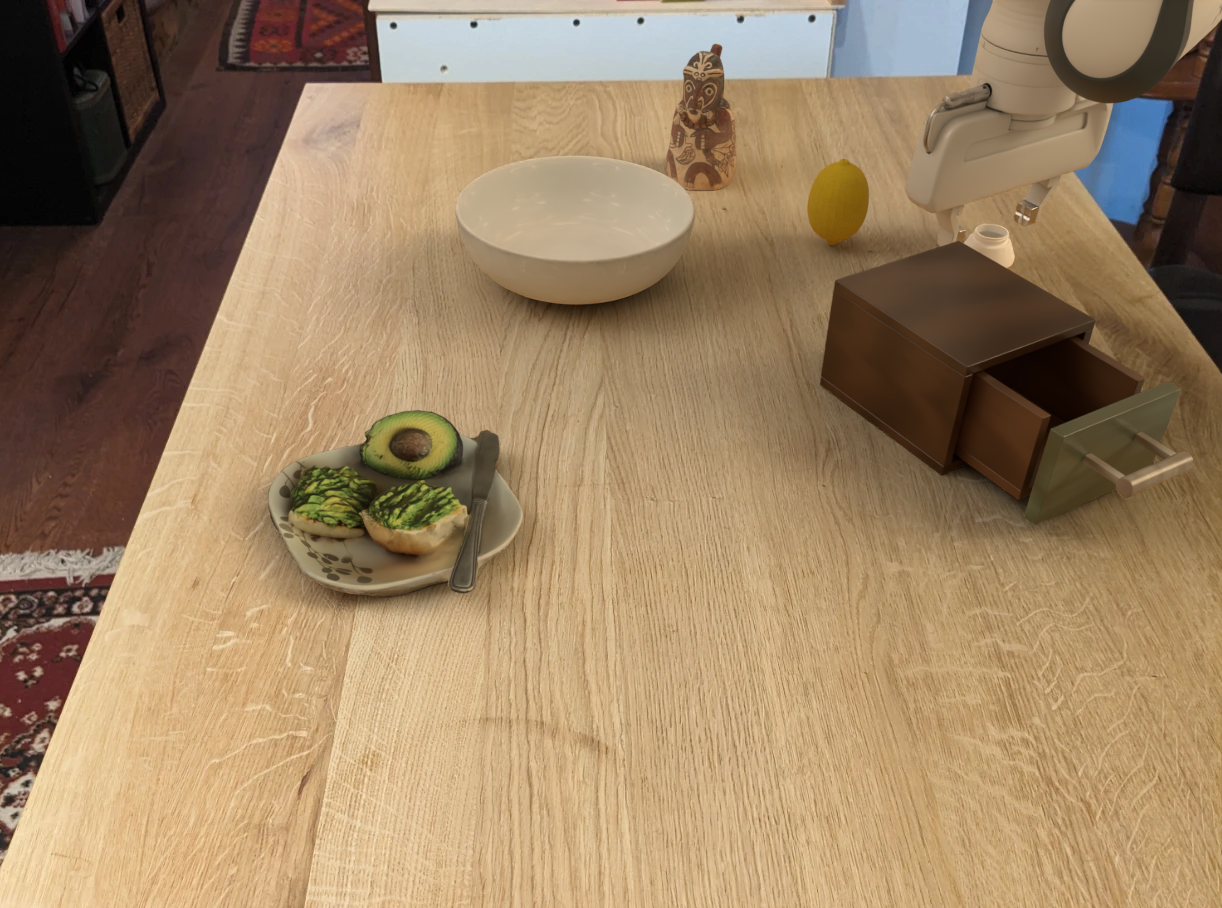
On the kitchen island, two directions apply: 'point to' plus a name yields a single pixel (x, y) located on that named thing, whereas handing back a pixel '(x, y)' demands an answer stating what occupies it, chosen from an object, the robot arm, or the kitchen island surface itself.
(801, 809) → the kitchen island surface
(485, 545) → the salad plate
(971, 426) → the drawer
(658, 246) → the serving bowl
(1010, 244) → the white jar
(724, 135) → the figurine
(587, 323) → the kitchen island surface
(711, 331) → the kitchen island surface
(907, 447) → the cabinet
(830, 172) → the lemon
